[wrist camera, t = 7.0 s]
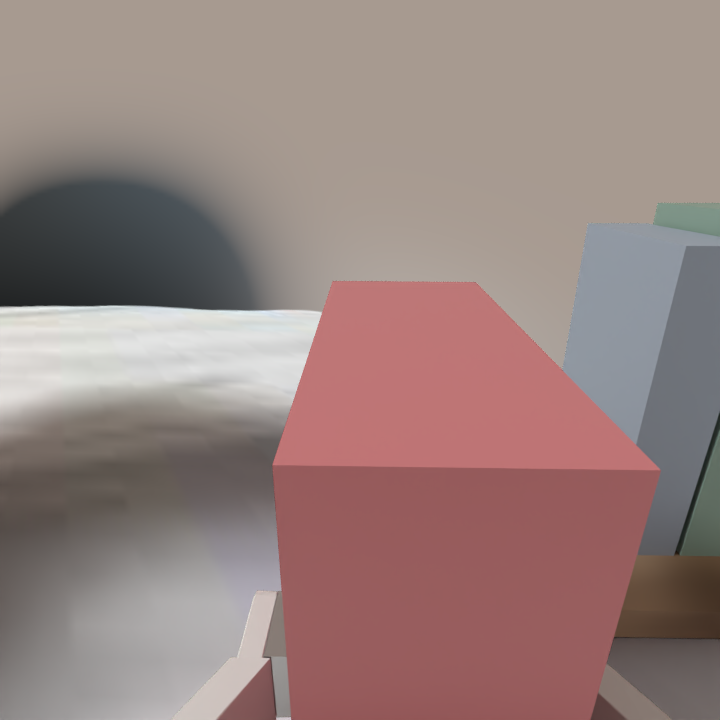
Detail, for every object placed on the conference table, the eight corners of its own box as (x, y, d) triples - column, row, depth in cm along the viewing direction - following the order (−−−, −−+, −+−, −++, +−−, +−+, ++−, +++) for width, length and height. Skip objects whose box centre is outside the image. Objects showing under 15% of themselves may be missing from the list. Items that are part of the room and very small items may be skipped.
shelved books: (608, 554, 22) (693, 216, 16) (547, 457, 29) (591, 202, 24) (746, 556, 22) (879, 217, 16) (649, 458, 29) (718, 203, 24)
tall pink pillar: (315, 1042, 10) (272, 465, 5) (338, 655, 19) (332, 280, 13) (497, 1047, 10) (661, 470, 5) (439, 656, 19) (475, 282, 13)
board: (314, 632, 20) (313, 605, 19) (334, 466, 31) (333, 446, 30) (848, 640, 19) (862, 614, 19) (673, 470, 31) (679, 450, 30)
